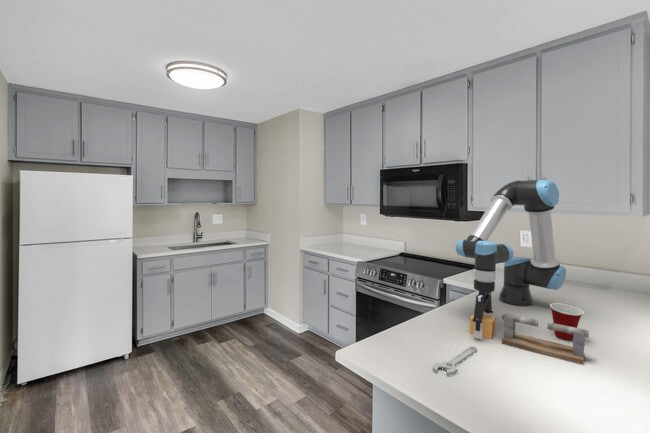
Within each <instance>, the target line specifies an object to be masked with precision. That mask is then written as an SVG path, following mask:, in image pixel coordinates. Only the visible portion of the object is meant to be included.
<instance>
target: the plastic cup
mask: <svg viewBox="0 0 650 433" xmlns="http://www.w3.org/2000/svg"><path fill="white" fill-rule="evenodd" d="M549 307H550V310H551V315H552V323H555V324H560V325H565V326H569V327H575V328H578V326H579V323H580V320H581V318H582V316H583V315H584V313H585V312H584V311H583V310H582V309H581V308H579V307H576V306H574V305H570V304H566V303H561V302H560V303H559V302H554V303H550V304H549ZM554 334H555V337H556V338H558V339H560V340H565V341H573V336H574V335H573V334H569V333H564V332H559V331H555V330H554Z"/></svg>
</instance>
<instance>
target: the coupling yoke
mask: <svg viewBox="0 0 650 433" xmlns="http://www.w3.org/2000/svg"><path fill="white" fill-rule="evenodd" d="M473 318H474V313H473V314H472V315H471V316H470V317H469V333H470V335H473V334H474V326H475V322H473V321H472V319H473ZM496 319H497V318H496V317H495V316H491V315H490V316H486V315H483V319H482V323H483V327H482V338H484V337H486V338H485V339H488V338H490V339H489V340H492V339H493V334H495V335H496V324H497V323H496V321H497V320H496Z"/></svg>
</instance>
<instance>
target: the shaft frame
mask: <svg viewBox="0 0 650 433" xmlns="http://www.w3.org/2000/svg"><path fill="white" fill-rule="evenodd" d="M501 319H502V320H503V336H502V339H501V344H502V345H505V344H506V345H505V346H508V345H509V346H508V347H512V346H513V347H514V348H516V347H517V348H516V349H521V350H525V351H528V352H533V353H536V354H540V355H543V356H547V357H551V358H554V359H555V358H556V359H558V358H559V360H562V359H563V361H567V362H570V361H571V362H570V363H574V364H578V363H579V365H581V364H583V365H584V360H585V355H584V354H585V343H586V342H585V340H586V339H585V338H588V339H589V336H590V330H588V329H584V328H579V327H577V328H575V327H569V326H565V325H560V324H555V323H553V322H550V321H548V322H547V327H546V328H547V330H550V331H554V332H555V331H559V332H564V333H569V334H573V335H574V336H573V340H572V346H570V345H567V344H566V345H565V344H563V343H562V344H561V343H559V342H554V341H550V340H545V339H541V338H538V337H533V336H529V335H524V334H520V333H516V323H517V324H518V323H519V324H524V325H529V326H531V327H533V326H534V327H539V319H535V318H531V317H525V316H521V315H516V314H512V313H506V312H502V314H501Z"/></svg>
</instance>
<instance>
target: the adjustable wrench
mask: <svg viewBox="0 0 650 433" xmlns="http://www.w3.org/2000/svg"><path fill="white" fill-rule="evenodd" d="M475 352H476V353H477V352H478V348H477V347H476V346H469V347H467V348H465V349H464V350H463V351H461V352H460V353H458V354H457V355H455V356H454V357H453V358H451V359H449V360H448V361H443V362H436V363H434V364H433V365H432V371H433V373H434V372H435V373H434V374H436V373H437V374H438V372H437V371H444V370H446V371H445V372H446V375H447V376H446V377H451V376H450V375H453V374H455V373H456V372H457V373H456V374H458V371H459V370H458V368H456V367H457V366H458V365H457V364H459V363H460V362H462V361H463V360H464V361H465V359H466V358H467V357H469V356H470V355H472V354H473V353H475ZM476 353H475V354H476ZM473 355H474V354H473ZM473 355H472V356H473ZM470 357H471V356H470ZM470 357H469V358H470ZM467 359H468V358H467ZM467 359H466V360H467ZM464 361H463V362H464ZM463 362H462V363H463ZM460 364H461V363H460ZM460 364H459V365H460ZM456 365H457V366H456ZM455 366H456V367H455ZM442 368H443V369H442ZM456 374H455V375H456ZM453 376H454V375H453Z"/></svg>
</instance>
